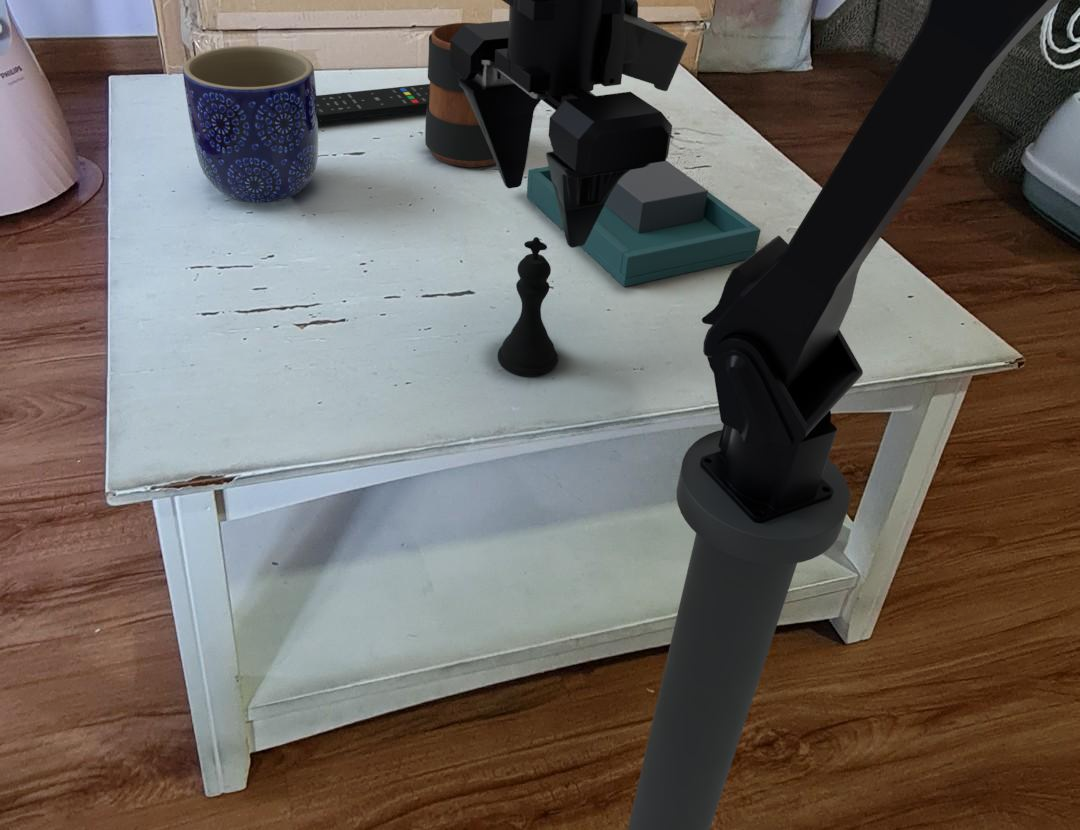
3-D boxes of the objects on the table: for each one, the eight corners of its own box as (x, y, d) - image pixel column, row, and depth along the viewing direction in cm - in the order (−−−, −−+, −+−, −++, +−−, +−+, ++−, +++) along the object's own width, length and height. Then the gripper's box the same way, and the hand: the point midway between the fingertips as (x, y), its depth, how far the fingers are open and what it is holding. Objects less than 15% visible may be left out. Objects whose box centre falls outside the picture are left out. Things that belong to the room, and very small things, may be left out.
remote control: (468, 110, 110) (468, 98, 109) (249, 136, 101) (247, 123, 100) (449, 93, 114) (450, 81, 113) (236, 116, 104) (235, 103, 104)
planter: (228, 224, 86) (211, 97, 79) (182, 176, 93) (162, 55, 86) (343, 197, 91) (336, 76, 85) (291, 153, 98) (281, 38, 91)
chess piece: (551, 381, 71) (562, 257, 65) (491, 371, 72) (496, 247, 66) (562, 348, 75) (574, 227, 68) (505, 338, 75) (511, 217, 69)
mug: (554, 158, 101) (564, 42, 94) (444, 174, 97) (446, 53, 90) (517, 127, 107) (523, 15, 100) (412, 140, 103) (411, 23, 95)
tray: (754, 258, 88) (761, 229, 86) (624, 287, 82) (628, 257, 81) (646, 176, 100) (650, 149, 98) (526, 197, 94) (528, 169, 92)
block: (703, 220, 91) (708, 190, 89) (638, 233, 88) (642, 202, 86) (660, 188, 96) (665, 159, 94) (598, 200, 93) (601, 169, 91)
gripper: (770, 4, 54) (721, 257, 64) (600, -75, 67) (579, 146, 77) (594, 20, 50) (569, 290, 60) (447, -67, 63) (446, 166, 72)
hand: (543, 214), depth 67 cm, fingers open, 9 cm apart
